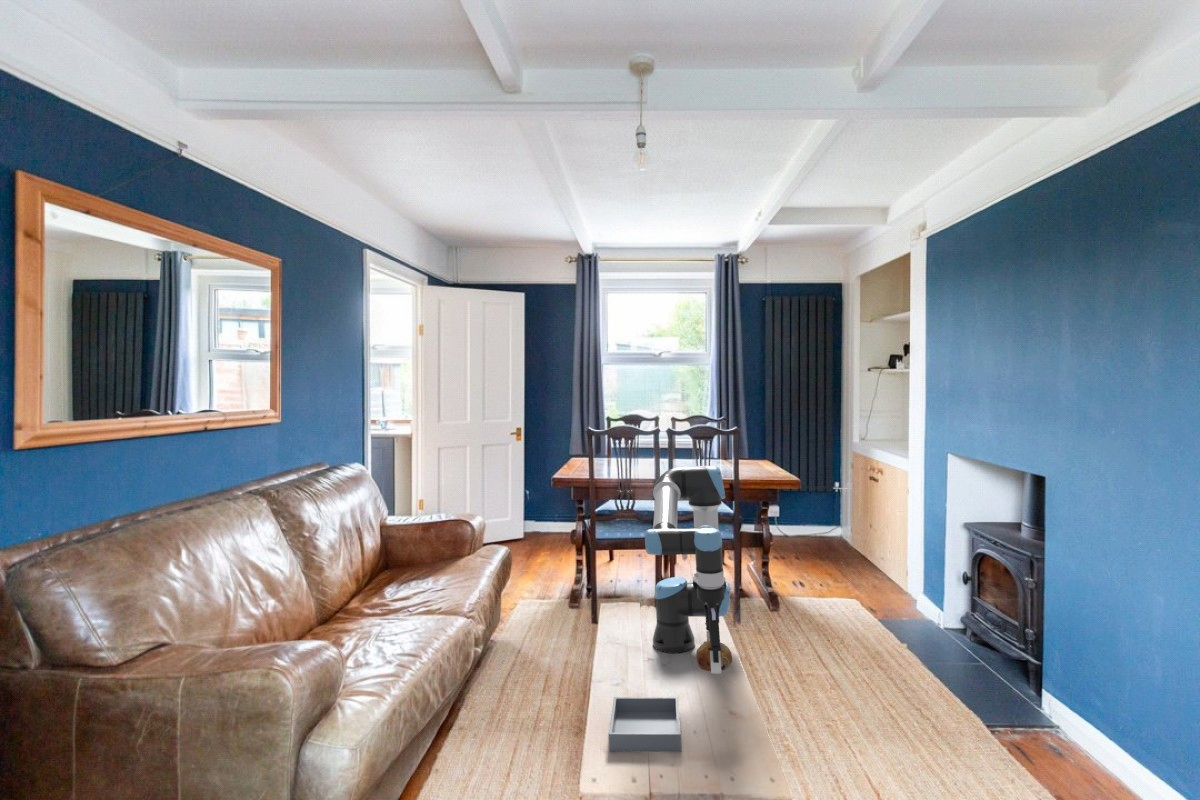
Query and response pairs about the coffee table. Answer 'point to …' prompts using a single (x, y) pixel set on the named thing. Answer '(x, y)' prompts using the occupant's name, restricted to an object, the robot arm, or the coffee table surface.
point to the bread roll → (704, 656)
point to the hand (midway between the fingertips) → (714, 663)
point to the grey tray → (645, 724)
